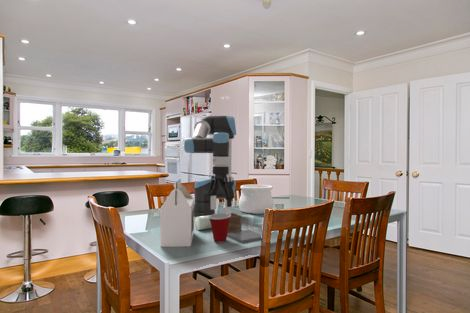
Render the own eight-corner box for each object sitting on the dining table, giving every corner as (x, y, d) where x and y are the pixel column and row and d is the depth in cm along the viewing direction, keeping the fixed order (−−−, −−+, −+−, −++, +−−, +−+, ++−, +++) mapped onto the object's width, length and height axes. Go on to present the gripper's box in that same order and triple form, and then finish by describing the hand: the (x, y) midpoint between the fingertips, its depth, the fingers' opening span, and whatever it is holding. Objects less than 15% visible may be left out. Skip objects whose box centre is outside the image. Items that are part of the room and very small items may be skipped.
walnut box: (218, 229, 167) (218, 214, 166) (232, 227, 171) (232, 212, 171) (226, 233, 159) (227, 217, 159) (241, 230, 164) (241, 215, 164)
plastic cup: (208, 237, 151) (208, 212, 151) (230, 237, 152) (230, 212, 151) (207, 244, 140) (207, 217, 140) (231, 243, 141) (231, 217, 141)
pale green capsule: (201, 224, 161) (197, 214, 165) (197, 232, 164) (193, 222, 169) (216, 222, 166) (211, 212, 170) (212, 230, 169) (208, 220, 174)
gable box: (167, 233, 158) (168, 178, 157) (194, 233, 159) (194, 178, 158) (160, 247, 136) (160, 183, 135) (190, 246, 136) (191, 183, 136)
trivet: (226, 235, 154) (226, 233, 154) (249, 231, 162) (249, 229, 162) (241, 243, 142) (241, 240, 142) (265, 238, 150) (265, 236, 150)
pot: (241, 207, 232) (241, 183, 231) (274, 208, 228) (274, 184, 228) (236, 214, 206) (236, 187, 206) (273, 215, 203) (273, 188, 202)
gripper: (201, 165, 153) (201, 208, 154) (228, 167, 133) (227, 216, 133) (214, 164, 158) (214, 206, 158) (242, 166, 137) (242, 215, 137)
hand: (220, 211), depth 145 cm, fingers open, 13 cm apart
